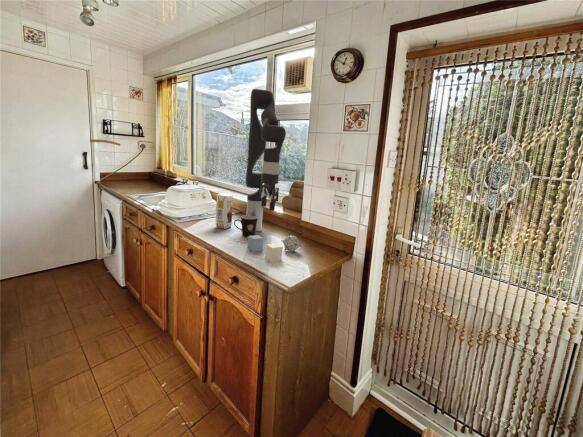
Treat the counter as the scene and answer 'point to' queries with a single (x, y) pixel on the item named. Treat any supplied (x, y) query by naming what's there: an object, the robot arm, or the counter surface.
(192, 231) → the counter surface
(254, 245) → the slate block
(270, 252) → the cream block
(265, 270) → the counter surface
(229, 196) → the juice carton
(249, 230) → the coffee mug
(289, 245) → the game die
